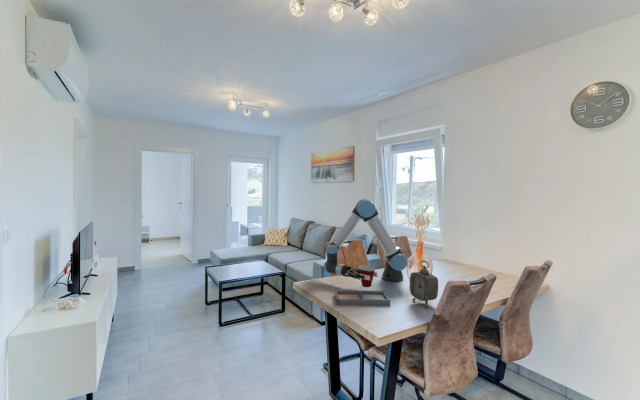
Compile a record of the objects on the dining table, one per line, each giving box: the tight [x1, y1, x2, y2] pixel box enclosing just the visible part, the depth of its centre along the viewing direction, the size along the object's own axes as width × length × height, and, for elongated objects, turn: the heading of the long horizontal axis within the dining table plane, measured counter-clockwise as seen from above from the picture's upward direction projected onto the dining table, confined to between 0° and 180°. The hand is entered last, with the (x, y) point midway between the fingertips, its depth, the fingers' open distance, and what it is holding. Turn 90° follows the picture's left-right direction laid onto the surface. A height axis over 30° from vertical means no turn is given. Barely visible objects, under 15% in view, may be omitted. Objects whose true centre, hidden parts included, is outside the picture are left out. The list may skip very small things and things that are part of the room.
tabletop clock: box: [409, 260, 439, 309], centre depth 174 cm, size 14×9×25 cm, turn 21°
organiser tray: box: [334, 289, 391, 306], centre depth 179 cm, size 30×16×3 cm, turn 91°
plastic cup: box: [358, 265, 377, 288], centre depth 195 cm, size 11×11×12 cm
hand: (373, 276), depth 192 cm, fingers closed on plastic cup, 9 cm apart
